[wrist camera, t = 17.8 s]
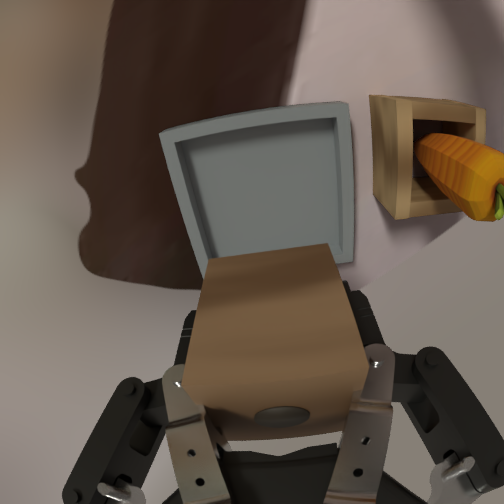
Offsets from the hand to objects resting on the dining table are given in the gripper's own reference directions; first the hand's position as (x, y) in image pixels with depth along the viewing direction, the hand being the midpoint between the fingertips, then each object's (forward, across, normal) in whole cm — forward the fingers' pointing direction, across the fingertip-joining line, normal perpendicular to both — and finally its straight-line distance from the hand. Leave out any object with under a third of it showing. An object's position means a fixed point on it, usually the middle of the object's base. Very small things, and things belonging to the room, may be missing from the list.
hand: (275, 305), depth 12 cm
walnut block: (+1, 0, 0) cm, 1 cm away
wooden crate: (+14, -14, -3) cm, 20 cm away
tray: (+14, 0, 0) cm, 14 cm away
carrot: (+14, -14, -3) cm, 20 cm away
